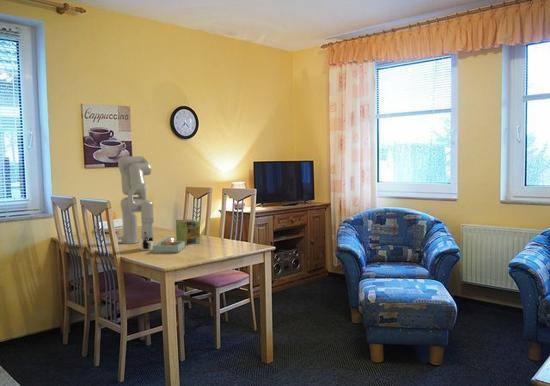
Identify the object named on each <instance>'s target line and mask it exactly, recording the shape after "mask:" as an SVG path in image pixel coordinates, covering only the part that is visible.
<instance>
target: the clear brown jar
mask: <svg viewBox="0 0 550 386" xmlns="http://www.w3.org/2000/svg"><path fill="white" fill-rule="evenodd" d="M163 241H164V246H174V241H175V237H174V236H166V237H163Z"/></svg>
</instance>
